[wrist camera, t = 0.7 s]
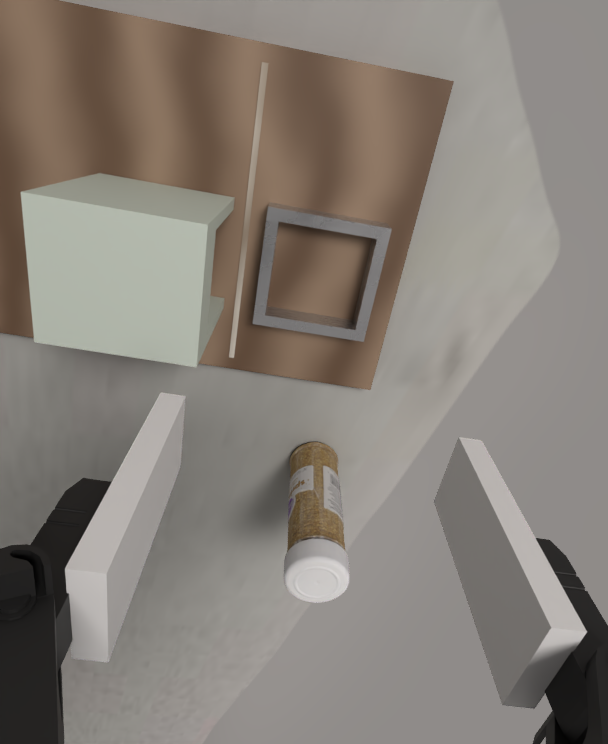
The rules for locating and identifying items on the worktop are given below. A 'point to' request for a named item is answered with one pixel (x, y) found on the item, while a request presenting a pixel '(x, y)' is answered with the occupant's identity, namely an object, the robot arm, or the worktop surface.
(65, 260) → the cover
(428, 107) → the board
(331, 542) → the sprinkles bottle
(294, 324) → the socket
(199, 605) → the worktop surface
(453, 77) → the worktop surface
